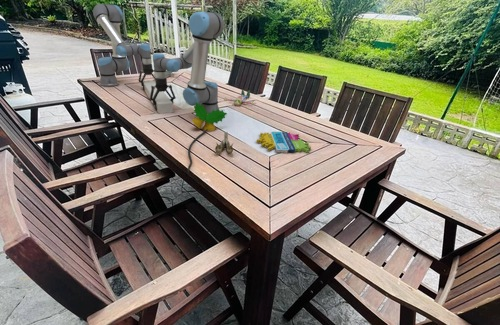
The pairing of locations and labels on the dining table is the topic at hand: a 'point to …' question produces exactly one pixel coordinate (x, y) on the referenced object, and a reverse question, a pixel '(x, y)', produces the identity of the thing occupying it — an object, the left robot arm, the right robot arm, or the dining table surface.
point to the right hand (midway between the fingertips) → (163, 108)
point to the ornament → (207, 117)
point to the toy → (241, 99)
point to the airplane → (168, 73)
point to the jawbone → (224, 145)
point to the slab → (159, 98)
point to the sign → (283, 142)
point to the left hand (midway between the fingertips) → (150, 89)
